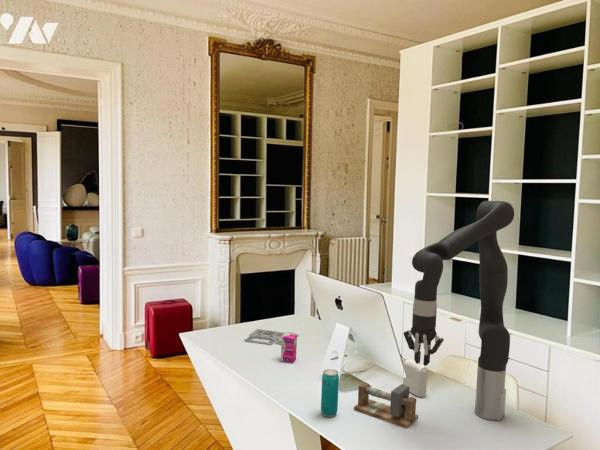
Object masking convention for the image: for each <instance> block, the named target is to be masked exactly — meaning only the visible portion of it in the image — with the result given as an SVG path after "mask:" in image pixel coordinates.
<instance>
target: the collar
mask: <svg viewBox="0 0 600 450" xmlns="http://www.w3.org/2000/svg"><path fill="white" fill-rule="evenodd" d="M409 387H410V386H406V385H403V383H402V384H400V385H398V386H396V387H395V388H394V389H393V390H391V391H390V394H391V401H390V405H389V406H390V415H393V416H396V417H399V416H400V415H401V414H403V413H404V412H405V406H404V405H402V398H406V399H408V398H410V392H409Z"/></svg>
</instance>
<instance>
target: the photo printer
mask: <svg viewBox="0 0 600 450" xmlns="http://www.w3.org/2000/svg"><path fill="white" fill-rule="evenodd" d="M404 369H405V373H406V378H402V379H403V380H402V384H403V385H406V386H410V387H409V393H411V394H413V395H415V396H416V397H419V398H424V397H426V395H427V383H428V368H427V366H424V365H423V363H421V362H420V363H419V364H416V361H414V359H412V358H411V359H406V360H405V361H404V362H403V370H404Z"/></svg>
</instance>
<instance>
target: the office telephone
mask: <svg viewBox="0 0 600 450" xmlns="http://www.w3.org/2000/svg"><path fill="white" fill-rule="evenodd" d="M284 334H294V335H297V338H298V337H299V336H300V335H299V334H296V333H295V332H293V331H288V332H283V331H282V332H281V331H275V330H274V331H273V330H266V329H261V328H256V329H255V330H253V331H252V332H251V333H250V334H249V336H248V337H246V338H244V342H246V343H251V344H260V345H266V346H272V345H274V344H275V345H276V346H277V345H278V346H281V344H282V336H283V335H284ZM254 339H255V340H254ZM256 339H258V340H266V341H267V342H266V341H258V340H256Z"/></svg>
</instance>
